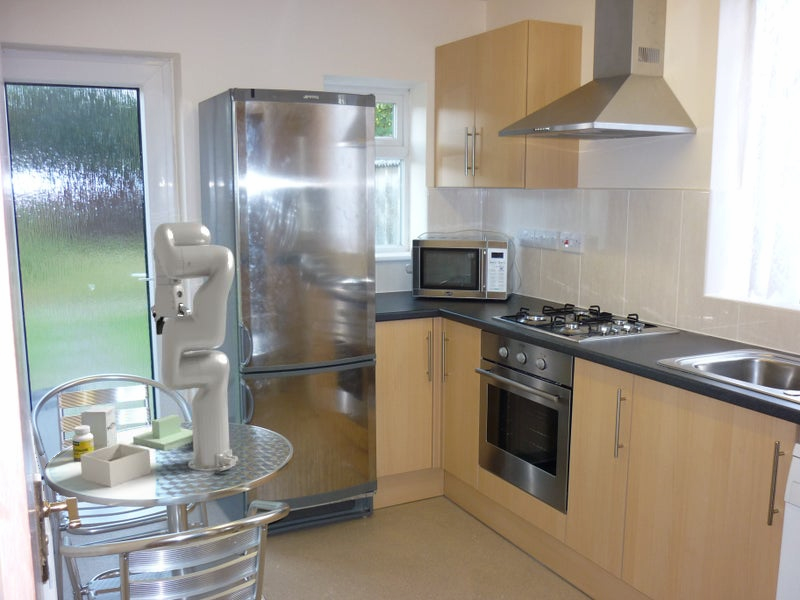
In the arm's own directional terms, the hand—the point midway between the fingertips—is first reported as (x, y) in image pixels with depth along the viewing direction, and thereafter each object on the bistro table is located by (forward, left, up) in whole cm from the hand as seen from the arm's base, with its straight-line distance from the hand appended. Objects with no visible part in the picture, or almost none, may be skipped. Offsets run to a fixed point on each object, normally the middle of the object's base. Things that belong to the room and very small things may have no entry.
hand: (171, 335), depth 237 cm
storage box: (-22, +38, -30) cm, 53 cm away
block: (-22, +38, -30) cm, 53 cm away
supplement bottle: (-2, +34, -31) cm, 46 cm away
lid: (-8, +10, -30) cm, 33 cm away
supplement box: (+2, +26, -31) cm, 40 cm away
